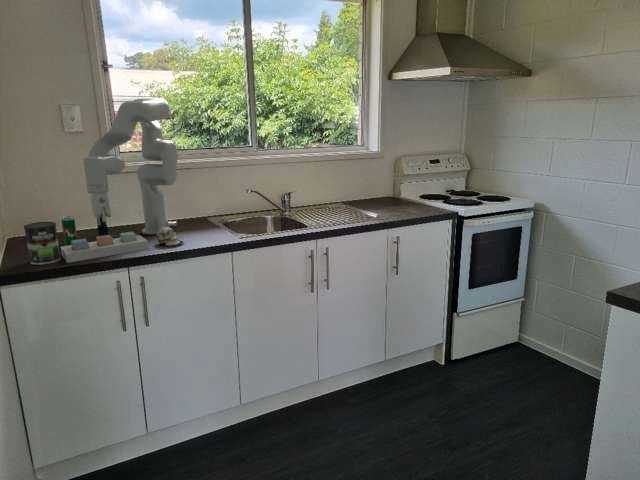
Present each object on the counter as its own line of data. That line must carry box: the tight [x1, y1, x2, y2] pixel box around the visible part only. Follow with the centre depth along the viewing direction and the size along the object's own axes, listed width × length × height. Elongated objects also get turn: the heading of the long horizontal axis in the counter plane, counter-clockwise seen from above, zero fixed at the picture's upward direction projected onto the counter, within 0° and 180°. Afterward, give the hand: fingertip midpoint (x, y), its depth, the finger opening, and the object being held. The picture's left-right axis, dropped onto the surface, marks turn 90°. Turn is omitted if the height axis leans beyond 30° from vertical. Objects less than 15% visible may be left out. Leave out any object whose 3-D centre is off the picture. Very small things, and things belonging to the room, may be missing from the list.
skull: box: [153, 227, 184, 249], centre depth 195 cm, size 12×10×10 cm
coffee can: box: [23, 221, 62, 266], centre depth 173 cm, size 10×10×14 cm
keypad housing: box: [60, 234, 150, 264], centre depth 185 cm, size 30×12×4 cm, turn 127°
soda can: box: [60, 215, 78, 246], centre depth 195 cm, size 5×5×12 cm
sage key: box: [119, 231, 137, 243], centre depth 190 cm, size 5×5×4 cm
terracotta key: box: [95, 234, 114, 247], centre depth 185 cm, size 5×5×4 cm
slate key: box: [71, 238, 89, 251], centre depth 179 cm, size 5×5×4 cm
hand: (103, 234), depth 184 cm, fingers closed
